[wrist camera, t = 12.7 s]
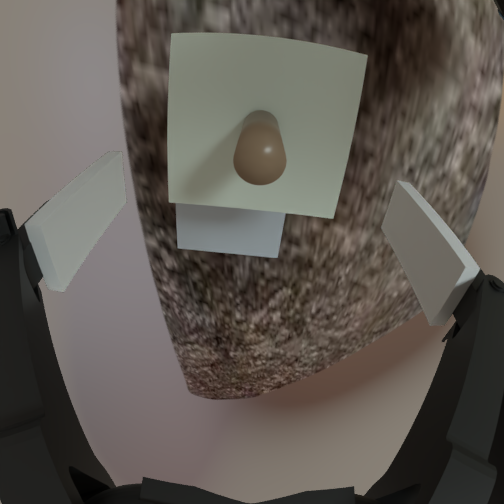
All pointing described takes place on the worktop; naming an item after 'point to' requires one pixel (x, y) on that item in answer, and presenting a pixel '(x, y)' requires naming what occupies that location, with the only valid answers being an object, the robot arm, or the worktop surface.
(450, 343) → the robot arm
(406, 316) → the worktop surface
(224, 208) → the mat
